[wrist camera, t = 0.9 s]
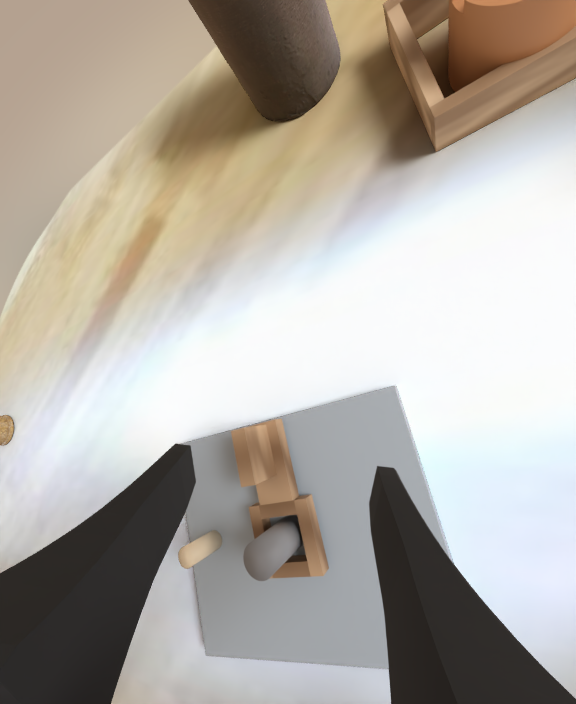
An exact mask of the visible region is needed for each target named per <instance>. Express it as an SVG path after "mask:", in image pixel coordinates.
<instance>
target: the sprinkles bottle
mask: <svg viewBox="0 0 576 704" xmlns="http://www.w3.org/2000/svg"><path fill="white" fill-rule="evenodd" d="M13 432H14V424H13V420H12V418H11V417H10V416H8V415H3V416H0V445H6V444H7V443H9V441H10V440H11V438H12V435H13Z"/></svg>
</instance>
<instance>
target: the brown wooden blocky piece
mask: <svg viewBox="0 0 576 704" xmlns="http://www.w3.org/2000/svg"><path fill="white" fill-rule="evenodd" d="M231 435H232V440H233V446H234V451H235V456H236V462H237V467H238V473H239V478H240V484H241V487H247V486H252V485H256V488H257V493H258V498H259V502H258V503H255V504H253V505H251V506H250V507H249V512H250V518H251V523H252V528H253V534H254V539H256V538H257V537H258V536H260V535H261V534H262V533H264V532H265V531H266V530H268V529H269V528H271V522H270V518H273V517H280V516H288V515H296V514H297V517H298V521H299V526H300V530H301V535H302V539H303V544H304V548H305V553H306V555H296V556H291V557H290V558H289V559H288V560H287V561H286V562H285V563H284V564H283V565H282V566H281V567H280V568H279V569H278V570H277V571H276V572H275V573H274V574H273V575H272V576H271V577H270V578H269V579H271V578H293V577H316V576H324V575H325V573H326V572H327V570H328V569H329V566H328V562H327V557H326V553H325V549H324V545H323V540H322V536H321V532H320V528H319V523H318V519H317V515H316V511H315V506H314V502H313V498H312V494H309V495H303V496H299V493H298V488H297V484H296V479H295V475H294V471H293V466H292V462H291V457H290V453H289V448H288V444H287V439H286V435H285V431H284V426H283V422H282V419H274V420H271V421H267V422H263V423H260V424H256V425H252V426H249V427H245V428H241V429H237V430H233V431H231Z"/></svg>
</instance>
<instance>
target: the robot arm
mask: <svg viewBox="0 0 576 704" xmlns="http://www.w3.org/2000/svg"><path fill="white" fill-rule="evenodd" d="M195 484H196V478H195V471H194V465H193V458H192V451H191V445H183V444H175V445H174V446H172V447H171V448H170V449H169V450H168V451H167V452H166V453H165V454H164V455H163V456H162V457H161V458H159V459H158V460H157V461H156V462H155V463H154V464H153V465H152V466H151V467H150V468H149V469H148V470H146V471H145V472H144V473H143V474H142V475H141V476H140V477H139V478H137V479H136V480H135V481H134V482H133V483H132V484H131V485H129V486H128V487H127V488H126V489H125V490H124V491H122V492H121V493H120V494H119V495H117V496H116V497H115V498H114V499H113V500H111V501H110V502H109V503H108V504H106V505H105V506H104V507H103V508H101V509H100V510H99V511H97V512H96V513H95V514H93V515H92V516H91V517H89V518H88V519H87V520H85V521H84V522H82V523H81V524H80V525H78V526H77V527H75V528H74V529H72V530H71V531H69V532H68V533H66V534H65V535H63V536H62V537H60V538H59V539H57V540H56V541H54V542H52V543H51V544H49V545H48V546H46V547H45V548H43V549H42V550H40V551H38V552H37V553H35V554H33V555H32V556H30V557H28V558H27V559H25V560H23V561H21V562H20V563H18V564H16V565H14V566H13V567H11V568H9V569H7V570H5V571H4V572H2V573H0V704H111V701H112V698H113V695H114V692H115V689H116V685H117V682H118V679H119V676H120V673H121V670H122V667H123V664H124V661H125V658H126V655H127V652H128V649H129V646H130V643H131V640H132V638H133V635H134V632H135V629H136V626H137V623H138V621H139V618H140V615H141V612H142V609H143V607H144V604H145V601H146V599H147V596H148V593H149V591H150V588H151V586H152V583H153V580H154V578H155V576H156V573H157V571H158V569H159V566H160V564H161V562H162V560H163V558H164V556H165V554H166V552H167V550H168V548H169V545H170V543H171V541H172V539H173V537H174V535H175V533H176V531H177V529H178V527H179V524H180V522H181V520H182V518H183V516H184V514H185V512H186V509H187V507H188V504H189V501H190V499H191V496H192V493H193V490H194V487H195ZM369 512H370V527H371V536H372V542H373V548H374V554H375V560H376V566H377V572H378V578H379V583H380V589H381V595H382V601H383V609H384V617H385V628H386V640H387V651H388V664H389V677H390V691H391V704H576V699H575V698H574V697H573V696H572V695H571V694H570V693H569V692H568V691H567V690H566V689H565V688H564V687H563V686H562V685H561V684H560V683H559V682H558V681H557V680H556V679H555V678H554V677H553V676H552V675H550V674H549V673H548V672H547V671H546V670H545V669H544V668H543V666H542V665H541V664H540V663H539V662H538V661H537V660H536V659H535V658H534V657H533V656H532V655H531V654H530V653H529V652H528V651H527V650H526V649H525V648H524V647H523V645H522V644H521V643H520V642H519V641H518V640H517V639H516V638H515V637H514V636H513V635H512V633H511V632H510V631H509V630H508V629H507V628H506V627H505V626H504V624H503V623H502V622H501V621H500V620H499V619H498V618H497V616H496V615H495V614H494V613H493V612H492V611H491V610H490V609H489V607H488V606H487V605H486V604H485V603H484V602H483V600H482V599H481V598H480V597H479V596H478V594H477V593H476V592H475V591H474V589H473V588H472V587H471V586H470V584H469V583H468V582H467V581H466V579H465V578H464V577H463V575H462V574H461V573H460V572H459V570H458V569H457V568H456V566H455V565H454V564H453V562H452V561H451V559H450V558H449V557H448V555H447V554H446V552H445V551H444V550H443V548H442V547H441V545H440V544H439V542H438V541H437V539H436V538H435V536H434V535H433V533H432V532H431V530H430V529H429V527H428V526H427V524H426V522H425V521H424V519H423V517H422V516H421V514H420V513H419V511H418V509H417V508H416V506H415V504H414V503H413V501H412V499H411V497H410V496H409V494H408V492H407V490H406V488H405V487H404V485H403V483H402V481H401V479H400V477H399V475H398V473H397V471H396V470H395V469H394V468H391V467H382V466H377V469H376V473H375V478H374V482H373V487H372V491H371V496H370V500H369Z"/></svg>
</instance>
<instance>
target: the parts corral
mask: <svg viewBox="0 0 576 704" xmlns="http://www.w3.org/2000/svg"><path fill="white" fill-rule="evenodd" d="M383 7H384V13H385V19H386V26H387V32H388V38H389V44H390V48H391V50H392V53H393V55H394V57H395V59H396V62H397V64H398V66H399V69H400V71H401V73H402V75H403V78H404V80H405V82H406V85H407V87H408V89H409V91H410V94H411V96H412V98H413V101H414V103H415V105H416V107H417V110H418V112H419V114H420V117H421V119H422V121H423V123H424V126H425V128H426V130H427V133H428V135H429V137H430V139H431V142H432V144H433V146H434V149H435V151H436V152H437V151H439V150H441V149H443V148H445V147H447V146H448V145H450V144H452V143H454V142H456V141H458V140H460V139H462V138H464V137H465V136H467V135H469V134H471V133H473V132H475V131H477V130H479V129H480V128H482V127H484V126H486V125H488V124H490V123H492V122H494V121H496V120H497V119H499V118H501V117H503V116H505V115H507V114H509V113H511V112H513V111H514V110H516V109H518V108H520V107H522V106H524V105H526V104H528V103H529V102H531V101H533V100H535V99H537V98H539V97H541V96H543V95H545V94H546V93H548V92H550V91H552V90H554V89H556V88H558V87H560V86H562V85H563V84H565V83H567V82H569V81H571V80H573V79H575V78H576V26H575V27H574V28H573V29H572V30H571V31H569V32H568V33H567V34H566V35H565V36H563V37H562V38H561V39H559V40H558V41H556V42H555V43H553V44H552V45H550V46H549V47H547V48H545V49H543V50H542V51H540V52H538V53H535V54H533V55H531V56H529V57H526V58H523V59H520V60H517V61H514V62H510V63H505V64H503V65H501V66H500V67H498V68H496V69H494V70H493V71H491V72H489V73H488V74H486V75H484V76H482V77H481V78H479V79H477V80H476V81H474V82H472V83H471V84H469V85H467V86H465V87H464V88H462V89H460V90H459V91H457V92H455V93H454V94H452V95H450V96H448V97H447V98H445V99H444V97H443V94H442V92H441V90H440V88H439V86H438V84H437V82H436V80H435V77H434V75H433V73H432V71H431V69H430V67H429V65H428V63H427V60H426V58H425V56H424V54H423V52H422V50H421V48H420V46H419V43H418V41H417V38H419V37H420V36H422V35H423V34H425V33H426V32H428V31H429V30H431V29H432V28H434V27H435V26H436V25H438V24H439V23H441V22H442V21H444V20H445V19H447V18H448V17H449V0H388V1H386V2H385V3H384V4H383Z"/></svg>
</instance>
